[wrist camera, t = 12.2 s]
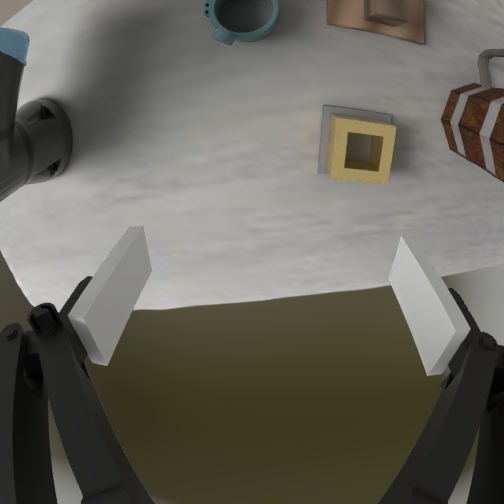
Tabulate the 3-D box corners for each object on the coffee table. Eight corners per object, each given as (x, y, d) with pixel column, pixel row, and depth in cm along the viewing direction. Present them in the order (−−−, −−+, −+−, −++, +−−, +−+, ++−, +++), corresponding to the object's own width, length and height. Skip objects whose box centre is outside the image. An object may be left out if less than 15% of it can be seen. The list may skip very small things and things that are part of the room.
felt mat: (317, 172, 43) (318, 173, 43) (323, 105, 38) (323, 105, 37) (381, 178, 43) (382, 179, 42) (390, 114, 37) (391, 115, 37)
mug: (498, 164, 38) (552, 200, 26) (439, 160, 40) (491, 198, 27) (501, 55, 28) (562, 64, 15) (437, 38, 30) (497, 34, 17)
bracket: (269, -18, 29) (266, -40, 21) (285, 38, 33) (287, 28, 26) (204, -3, 30) (186, -19, 23) (220, 52, 35) (205, 47, 27)
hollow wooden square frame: (324, 167, 42) (330, 178, 38) (329, 113, 38) (336, 118, 34) (376, 172, 42) (387, 184, 38) (384, 120, 38) (396, 126, 33)
